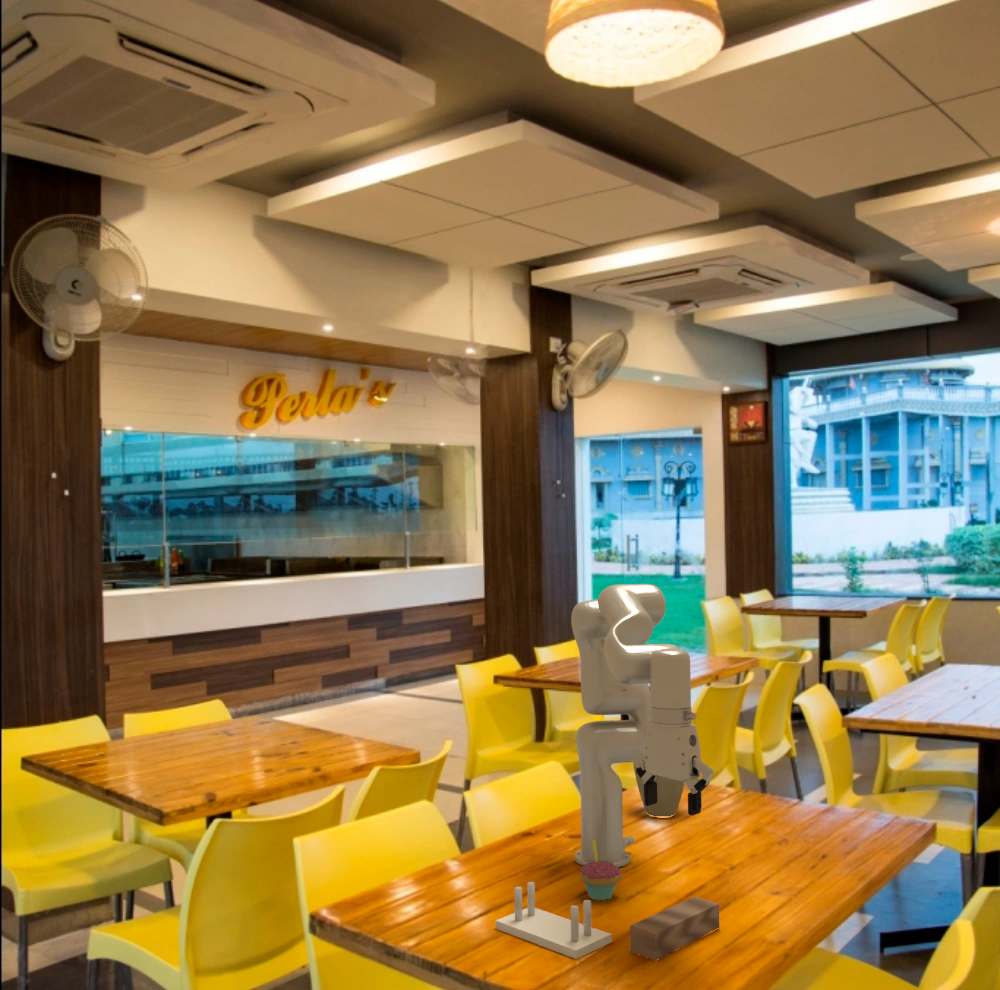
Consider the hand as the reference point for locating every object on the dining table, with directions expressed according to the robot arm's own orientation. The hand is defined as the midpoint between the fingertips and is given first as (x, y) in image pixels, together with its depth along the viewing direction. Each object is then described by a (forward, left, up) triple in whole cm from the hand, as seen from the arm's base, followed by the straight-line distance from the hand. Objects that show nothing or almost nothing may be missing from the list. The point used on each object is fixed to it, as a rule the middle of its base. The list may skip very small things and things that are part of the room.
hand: (672, 809), depth 185 cm
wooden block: (0, 0, -24) cm, 24 cm away
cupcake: (-8, -24, -24) cm, 35 cm away
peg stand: (+14, -18, -24) cm, 33 cm away
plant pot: (-66, -50, -24) cm, 86 cm away
